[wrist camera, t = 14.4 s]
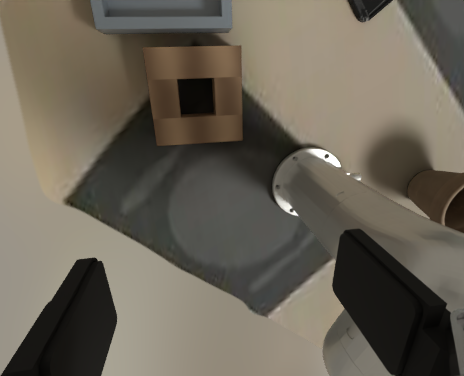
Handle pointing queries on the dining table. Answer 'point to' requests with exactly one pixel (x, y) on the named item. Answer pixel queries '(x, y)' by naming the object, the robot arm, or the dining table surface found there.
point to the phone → (367, 8)
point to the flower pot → (440, 197)
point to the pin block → (191, 67)
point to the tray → (162, 16)
